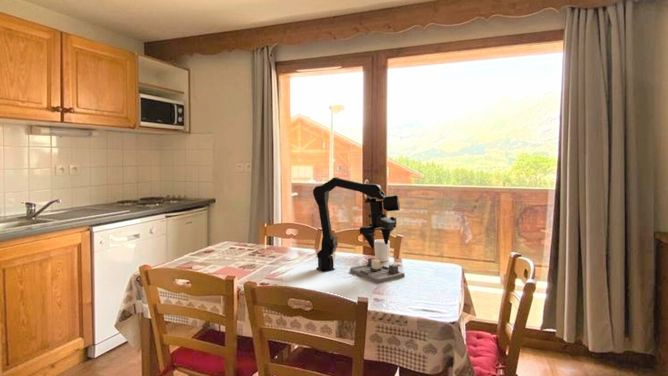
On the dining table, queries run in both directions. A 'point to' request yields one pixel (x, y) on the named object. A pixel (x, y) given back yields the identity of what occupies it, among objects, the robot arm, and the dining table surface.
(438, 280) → the dining table surface
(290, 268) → the dining table surface
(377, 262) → the breaker
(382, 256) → the white cup
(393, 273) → the breaker panel
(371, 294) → the dining table surface
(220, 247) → the dining table surface
